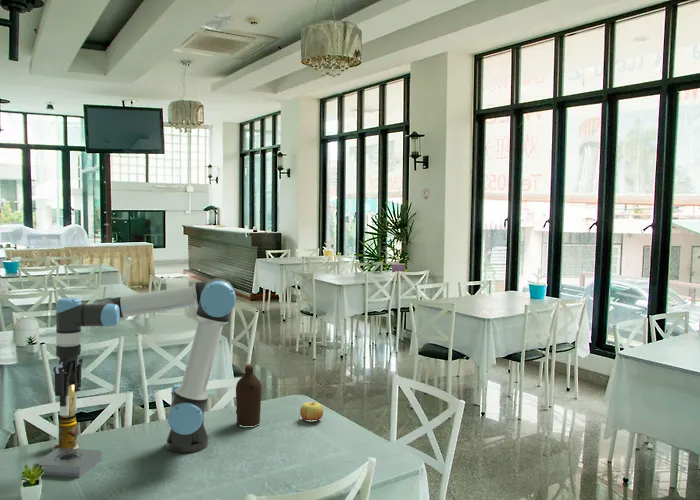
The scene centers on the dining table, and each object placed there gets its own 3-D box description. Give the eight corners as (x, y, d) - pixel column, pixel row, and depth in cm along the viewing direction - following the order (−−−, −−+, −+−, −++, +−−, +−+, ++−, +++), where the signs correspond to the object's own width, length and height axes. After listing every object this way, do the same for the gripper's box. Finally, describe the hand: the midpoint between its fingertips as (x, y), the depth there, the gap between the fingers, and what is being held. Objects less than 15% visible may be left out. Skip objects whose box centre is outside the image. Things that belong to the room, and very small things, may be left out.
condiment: (79, 448, 220) (79, 416, 219) (53, 453, 215) (53, 420, 214) (75, 441, 226) (75, 410, 225) (50, 446, 221) (50, 414, 220)
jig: (101, 460, 210) (101, 450, 209) (79, 477, 196) (79, 467, 195) (58, 457, 211) (58, 447, 211) (33, 474, 197) (33, 463, 197)
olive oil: (266, 423, 250) (267, 364, 248) (247, 430, 241) (248, 369, 240) (249, 418, 256) (250, 360, 255) (229, 424, 248) (230, 364, 247)
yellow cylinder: (77, 412, 204) (77, 383, 204) (70, 416, 200) (70, 387, 200) (65, 412, 205) (66, 383, 204) (59, 415, 201) (59, 386, 200)
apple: (327, 418, 258) (327, 400, 257) (316, 425, 249) (317, 406, 248) (306, 415, 262) (307, 397, 261) (295, 422, 253) (296, 403, 252)
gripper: (72, 338, 210) (72, 404, 211) (42, 349, 193) (42, 420, 194) (92, 339, 209) (92, 405, 210) (64, 350, 192) (64, 422, 194)
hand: (68, 412), depth 202 cm, fingers closed on yellow cylinder, 4 cm apart
